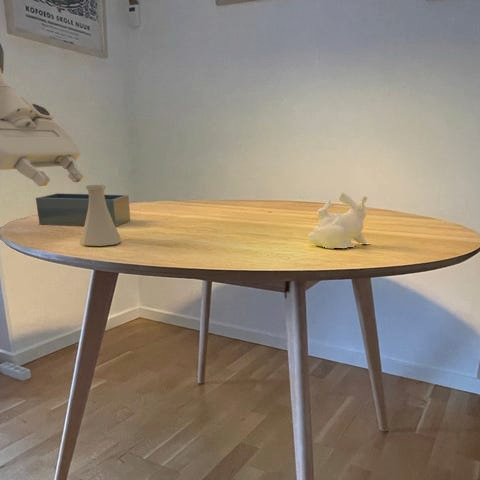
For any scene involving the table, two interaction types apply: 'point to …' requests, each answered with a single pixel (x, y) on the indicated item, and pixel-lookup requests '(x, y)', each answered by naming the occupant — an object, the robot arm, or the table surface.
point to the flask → (98, 220)
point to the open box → (78, 209)
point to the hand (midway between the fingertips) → (63, 181)
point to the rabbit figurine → (340, 225)
